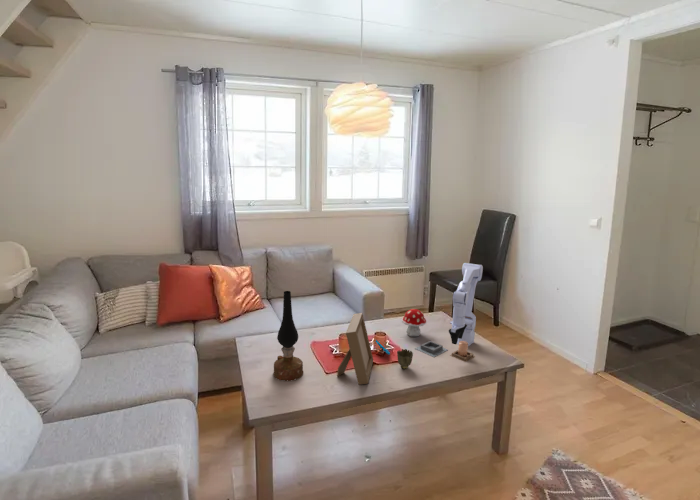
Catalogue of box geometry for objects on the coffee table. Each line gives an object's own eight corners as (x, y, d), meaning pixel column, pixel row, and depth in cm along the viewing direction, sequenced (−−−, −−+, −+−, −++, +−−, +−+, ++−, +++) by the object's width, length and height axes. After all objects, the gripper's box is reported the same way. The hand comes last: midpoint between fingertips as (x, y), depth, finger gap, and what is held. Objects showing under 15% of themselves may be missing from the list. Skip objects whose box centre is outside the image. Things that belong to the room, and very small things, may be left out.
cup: (402, 373, 194) (403, 357, 193) (393, 366, 201) (394, 350, 199) (415, 369, 198) (416, 354, 196) (406, 362, 204) (407, 347, 202)
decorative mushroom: (428, 332, 240) (430, 307, 236) (421, 341, 227) (423, 315, 224) (405, 327, 245) (406, 303, 242) (397, 336, 233) (398, 311, 230)
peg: (461, 352, 213) (462, 340, 212) (468, 356, 210) (469, 343, 209) (456, 355, 210) (457, 342, 209) (463, 358, 207) (464, 345, 206)
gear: (392, 355, 208) (378, 342, 206) (384, 364, 208) (370, 350, 206) (388, 348, 219) (375, 335, 217) (380, 356, 219) (367, 343, 217)
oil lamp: (303, 386, 188) (320, 307, 176) (269, 383, 185) (284, 303, 173) (301, 367, 201) (317, 292, 189) (269, 365, 198) (283, 288, 186)
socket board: (428, 343, 225) (429, 338, 224) (447, 351, 217) (448, 346, 216) (414, 350, 217) (415, 344, 216) (433, 359, 209) (434, 353, 208)
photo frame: (373, 361, 205) (374, 313, 199) (368, 385, 184) (368, 332, 178) (343, 359, 207) (343, 311, 201) (334, 382, 186) (334, 330, 180)
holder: (459, 351, 217) (459, 347, 216) (475, 358, 210) (475, 354, 210) (449, 357, 211) (449, 353, 210) (465, 363, 204) (465, 359, 204)
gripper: (456, 308, 212) (454, 333, 215) (445, 318, 200) (443, 344, 204) (469, 311, 209) (467, 337, 212) (460, 321, 197) (458, 348, 200)
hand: (456, 340), depth 207 cm, fingers open, 7 cm apart
